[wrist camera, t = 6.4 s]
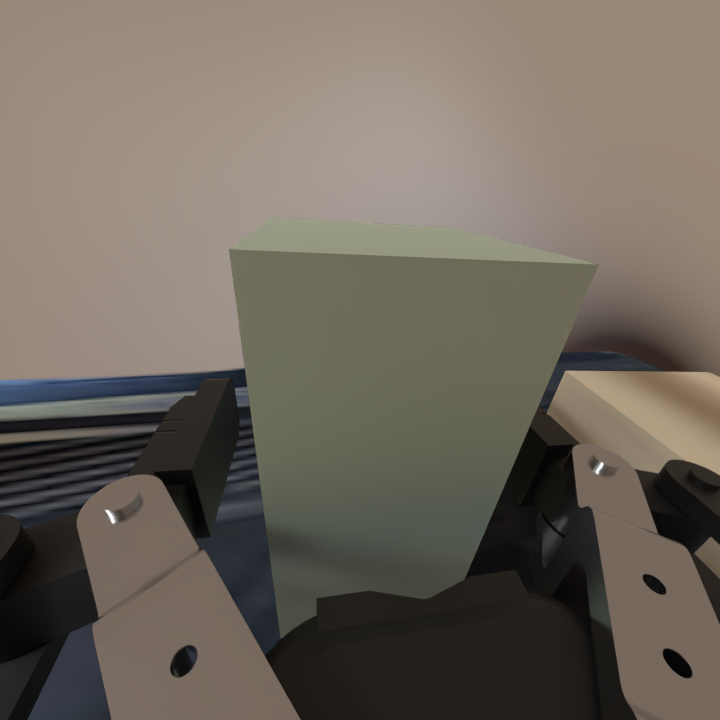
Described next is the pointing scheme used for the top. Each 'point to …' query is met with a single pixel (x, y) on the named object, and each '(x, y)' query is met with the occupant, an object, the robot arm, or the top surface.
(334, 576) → the sage block
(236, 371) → the top surface
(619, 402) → the birch base block
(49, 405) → the top surface
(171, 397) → the top surface
